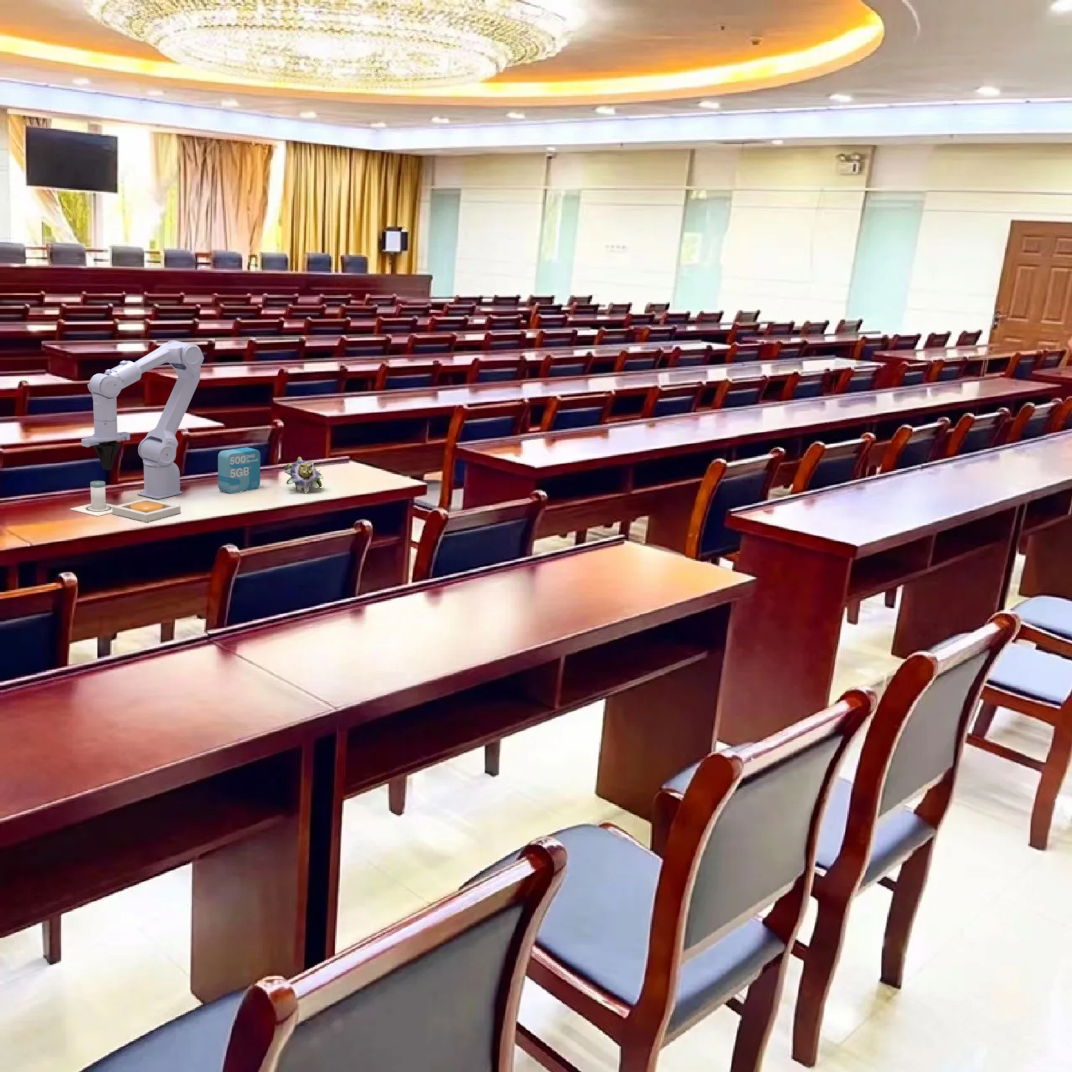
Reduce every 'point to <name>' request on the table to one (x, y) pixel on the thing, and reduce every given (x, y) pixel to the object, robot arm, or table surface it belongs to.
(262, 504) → the table surface
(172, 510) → the button box
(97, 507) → the white cylindrical piece
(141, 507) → the button
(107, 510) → the paper sheet
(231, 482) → the data package
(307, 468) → the passion flower
